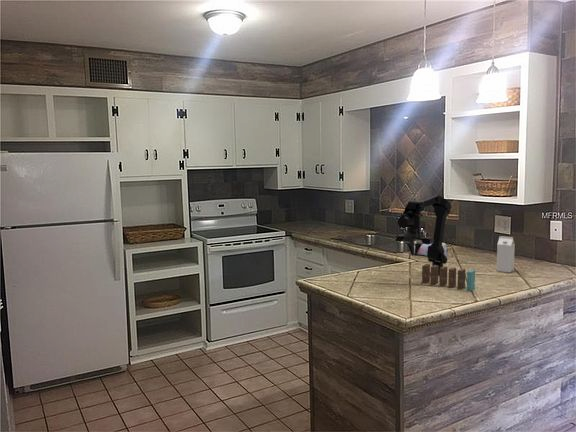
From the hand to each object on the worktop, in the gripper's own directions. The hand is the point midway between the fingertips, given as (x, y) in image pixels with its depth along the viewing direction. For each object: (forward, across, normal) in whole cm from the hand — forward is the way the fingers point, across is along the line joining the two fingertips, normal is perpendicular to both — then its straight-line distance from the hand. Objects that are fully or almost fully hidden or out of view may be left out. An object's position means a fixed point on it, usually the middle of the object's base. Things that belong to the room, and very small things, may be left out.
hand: (414, 255), depth 247 cm
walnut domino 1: (+13, +6, 0) cm, 15 cm away
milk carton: (+13, +32, +47) cm, 58 cm away
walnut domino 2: (+13, +11, 0) cm, 17 cm away
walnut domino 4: (+13, +20, 0) cm, 24 cm away
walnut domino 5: (+13, +24, 0) cm, 28 cm away
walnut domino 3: (+13, +16, 0) cm, 20 cm away
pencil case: (+13, -18, +61) cm, 65 cm away
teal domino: (+13, +29, 0) cm, 32 cm away
